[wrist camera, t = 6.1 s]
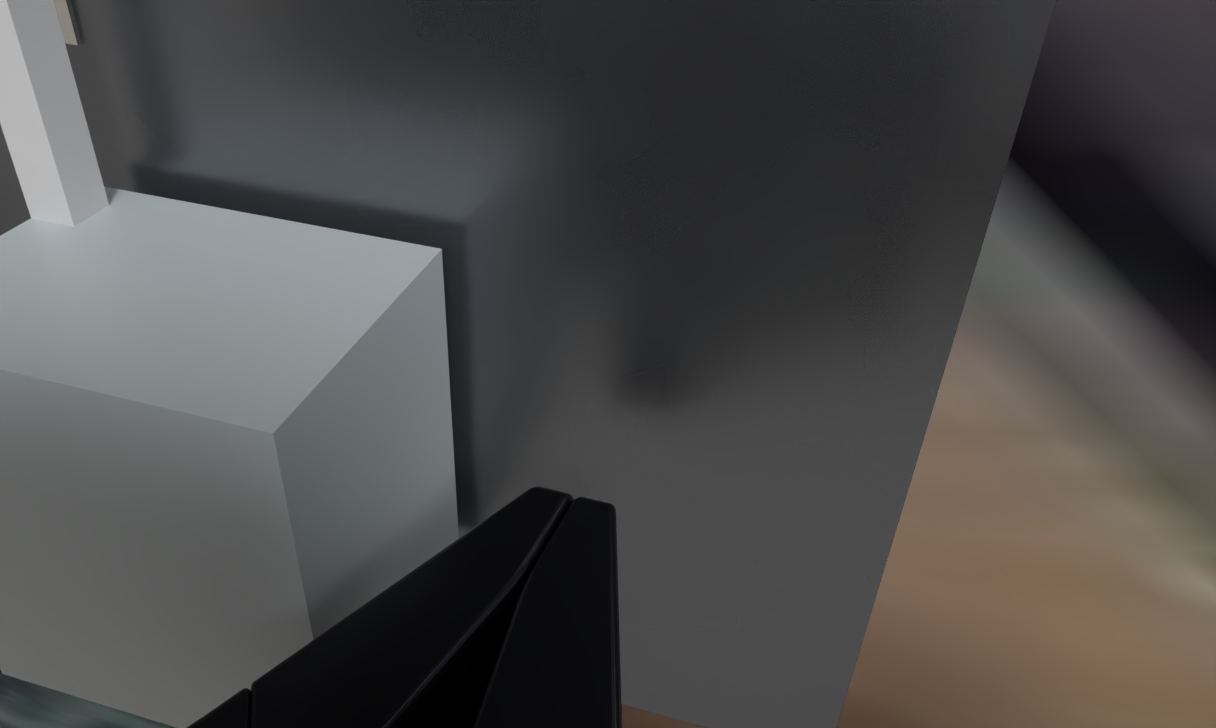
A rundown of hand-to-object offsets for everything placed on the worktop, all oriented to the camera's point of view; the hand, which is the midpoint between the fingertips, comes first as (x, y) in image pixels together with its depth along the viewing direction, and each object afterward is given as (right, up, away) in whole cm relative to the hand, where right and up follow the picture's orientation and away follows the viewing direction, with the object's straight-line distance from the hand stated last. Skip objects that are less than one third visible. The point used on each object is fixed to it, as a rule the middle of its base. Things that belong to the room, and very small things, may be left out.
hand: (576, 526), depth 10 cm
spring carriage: (-3, +3, +1) cm, 4 cm away
